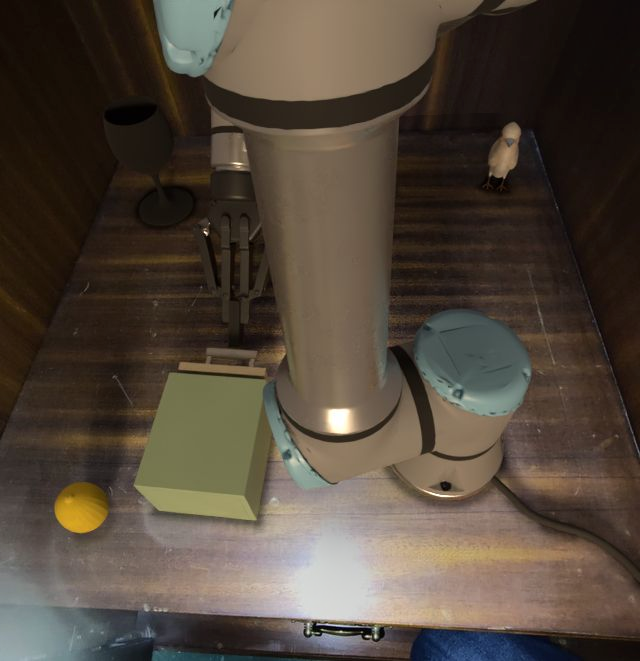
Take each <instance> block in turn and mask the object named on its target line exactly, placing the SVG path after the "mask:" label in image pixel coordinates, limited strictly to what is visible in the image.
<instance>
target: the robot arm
mask: <svg viewBox="0 0 640 661" xmlns="http://www.w3.org/2000/svg"><path fill="white" fill-rule="evenodd" d="M537 1H538V0H152V3H153V11H154V16H155V20H156V26H157V31H158V37H159V40H160V44H161V48H162V49H161V50H162V54H163V58H164V61H165V63H166V66H167V67H168V68H169V70H170V71H172V72H174V73H176V74H179V75H182V74H183V75H185V74H186V75H187V76H189V77H192V78H197V77H200V79H201V83H202V87H203V92H204V96H205V99H206V101H207V104H208V106H209V107H210V127H211V128H210V159H209V160H210V161H209V162H210V164H209V165H210V167H211V169H214V171H212V172H211V174H210V176H209V203H210V204H209V208H208V210H207V211H206V216H205V218H203V219H201V220H199V221H198V222H197V223H196V222H195V223H194V222H193V223H191V224H190V226H189V229H190V230H189V231H190V232H191V234H192V235H193V237H194V238H195V240H196V242H197V247H198V250H199V255H200V260H201V263H202V267H203V273H204V277H205V281H206V286H207V290H208V293H209V294H211V295H214V296H217V297H219V298H220V299H221V320H222V322H223V323H228V334H227V336H228V339H227V341H228V342H227V343H228V344H227V347H228V348H231V349H240V348H241V347H242V346H243V345H245V344H244V342H245V324H249V323H250V322H251V319H252V301H253V299H255V298H260V297H261V296H264V294H265V293H266V290H267V286H268V282H269V278H271V281H272V288H273V292H274V298H275V303H276V308H277V313H278V320H279V324H280V329H281V334H282V338H283V344H284V349H285V355H284V356H283V358H282V359H281V361H280V363H279V365H278V368H277V371H276V377H274V378H273V379H272V380H271V381H270V380H269V382H268V383H267V384H265V386H264V388H263V402H264V406H265V410H266V414H267V417H268V421H269V424H270V427H271V430H272V436H273V439H274V443H275V444H276V446H277V448H278V450H279V452H280V456H281V459H282V462H283V464H284V467H285V469H286V471H287V473H288V474H289V476H290V478H291V480H292V481H293V483H294V484H295V485H296V486H297V487H299V488H301V489H302V490H307V491H309V490H310V491H311V490H315V489H320V488H324V487H333V486H336V485H338V484H339V483H340V482H341V483H342V482H343V481H346V480H349V479H353V478H356V477H359V476H362V475H365V474H368V473H372V472H375V471H377V470H380V469H384V468H387V467H390V468H391V470H392V471H393V472H394V474H395V475H396V477H397V478H398V479H399V480H400V481H401V482H402V483H404V484H405V485H406V486H407V487H408V488H410V490H412V491H414V492H416V493H417V494H419V495H422V496H424V497H427V498H430V499H434V500H439V501H448V502H449V501H458V500H459V501H460V500H464V499H468V498H471V497H472V496H475V495H477V494H479V493H480V492H481V491H483V490H484V489H486V487H488V485H489V484H490V483H491V484H492V485H493V486H494V487H495V489H497V490H498V491H499V492H500V493H501V494H502V495H503V496H505V498H507V499H508V500H509V501H510V502H511V503H512V504H513V505H514V506H515V507H516V509H517V510H518V511H520V513H522V514H523V515H525V517H527V518H529V519H531V520H533V521H534V522H537V523H539V524H541V525H543V526H546V527H548V528H551V529H554V530H558V531H561V532H565V533H568V534H572V535H575V536H577V537H581V538H583V539H586V540H588V541H590V542H592V543H594V544H596V545H597V546H598V547H600V548H601V549H603V550H604V551H605V552H607V553H608V554H609V555H611V556H612V557H613V558H615V559H616V560H617V561H618V562H619V563H620V564H621V565H622V566H623V567H625V569H626V570H627V571H628V572H629V573H630V574H631V575H632V576H633V578H634V579H635V580H637V582H638V583H639V584H640V568H639V567H638V566H637V565H636V564H635V563H634V562H633V561H632V560H631V559H630V558H629V557H628V556H627V555H626V554H625V553H624V552H622V551H621V550H620V549H619V548H618V547H616V546H615V545H614V544H612V543H611V542H610V541H608V540H606V539H605V538H603V537H602V536H600V535H599V534H596V533H594V532H593V531H590V530H588V529H586V528H583V527H580V526H577V525H574V524H571V523H567V522H563V521H560V520H556V519H553V518H550V517H547V516H546V515H543V514H540V513H538V512H537V511H535V510H533V509H532V508H530V507H529V506H528V505H526V503H524V502H523V501H522V499H521V498H519V496H517V494H516V493H514V491H513V490H512V489H510V488H509V487H508V486H507V485H506V484H505V483H503V481H502V480H501V479H500V478H498V477H497V476H496V475H497V474H498V472H499V470H500V469H501V468H500V467H501V465H502V464H503V463H502V462H503V459H504V453H505V444H504V443H505V441H504V434H503V433H504V430H505V429H506V427H507V426H508V424H509V422H510V420H511V419H512V417H513V416H514V414H515V412H516V411H517V409H519V407H520V406H521V405H522V404H523V403H524V399H525V398H526V394H527V391H528V388H529V385H530V382H531V378H532V362H531V357H530V354H529V352H528V350H527V347H526V345H525V344H524V342H523V340H522V339H521V338H520V337H519V336H518V334H517V333H516V332H515V331H514V330H513V329H512V328H511V327H510V326H508V325H507V324H505V322H503V321H501V320H499V319H498V318H492V317H490V316H488V315H487V314H486V313H484V312H482V311H479V310H474V309H468V308H451V309H446V310H442V311H439V312H437V313H435V314H433V315H432V316H430V317H428V318H427V319H426V320H425V321H424V322H423V323H422V325H420V328H419V329H418V330H417V331H416V332H415V335H414V337H413V339H412V340H409V341H406V342H402V343H399V344H396V345H392V346H388V338H389V318H390V303H391V302H390V300H391V299H390V298H391V281H392V263H393V262H392V261H393V242H394V224H395V222H394V221H395V207H396V206H395V205H396V204H395V203H396V187H397V186H396V184H397V167H398V149H399V148H398V147H399V130H400V129H399V128H400V117H402V115H403V114H405V113H406V112H407V111H409V110H410V109H411V108H413V107H414V106H415V105H416V104H417V103H418V102H420V101H421V99H422V98H424V96H425V95H426V93H427V92H428V90H429V88H430V85H431V82H432V80H433V73H434V72H433V71H434V62H435V50H436V43H437V40H438V39H439V38H441V37H443V36H444V35H446V34H448V33H450V32H452V31H453V30H454V29H456V28H458V27H460V26H461V25H463V24H465V23H466V22H468V21H470V20H471V19H472V18H474V17H476V16H478V15H483V16H490V17H491V16H503V15H508V14H511V13H514V12H517V11H519V10H521V9H524V8H526V7H527V6H530V5H531V4H533V3H535V2H537ZM211 228H212V229H213V231H214V232H215V233H216V235H217V237H218V238H219V239H220V249H221V269H220V270H221V273H220V272H219V268H218V264H217V263H218V262H217V259H216V254H215V249H214V246H213V241H212V238H211V236H210V235H211V234H212V229H211ZM261 234H262V237H263V242H264V247H263V251H262V255H261V259H260V263H259V266H258V270H257V274H256V278H255V281H254V251H255V242H256V240H257V239H258V238H259V237H260V236H261ZM237 243H239V251H240V252H239V296H238V298H235V297H236V295H237V294H236V293H235V289H236V288H235V287H236V285H235V284H236V282H235V281H236V280H235V279H236V249H237ZM220 274H221V275H220ZM253 283H254V284H253Z"/></svg>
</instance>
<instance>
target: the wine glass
mask: <svg viewBox="0 0 640 661" xmlns="http://www.w3.org/2000/svg"><path fill="white" fill-rule="evenodd" d="M102 118H103V120H102V121H103V127H104V133H105V138H106V140H107V144H108V145H109V148H110V150H111V152H112V153H113V155H114V157H115V159H116V160H118V161H119V163H120V164H122V165H123V166H124V167H125V168H127V169H128V170H130V171H132V172H134V173H137V174H140V175H145V176H150V177H151V179H152V180H153V183H154V185H155V188H156V191H153V192H151V193H150V194H148V195H146V197H145V198H143V200H142V201H141V202H140V204H139V207H138V214H139V217H140V218H141V220H142V221H143V222H144V223H146V224H148V225H151V226H156V227H167V226H172V225H174V224H178V223H179V222H181V221H183V220H184V219H186V218H187V217H188V216H189V215H190V214H191V213H192V211H193V210H194V204H195V203H194V202H195V201H194V198H193V196H192V195H191V193H189V192H188V191H187V190H184V189H183V188H182V189H181V188H177V187H167V188H163V186H162V183H161V180H160V175H159V173H160V172H161V171H163V169H165V168H166V166H167V165H168V164H169V162H170V161H171V159H172V156H173V153H174V147H175V145H174V144H175V140H174V134H173V129H172V126H171V124H170V122H169V119H168V117H167V115H166V113H165V112H164V110H163V109H162V107H161V106H160V104H159V103H158V101H157V100H156V99H155V98H153V97H151V96H149V95H144V94H131V95H126V96H123V97H119V98H116V100H113V101H112V102H110V103H109V104H108V105H107V106H106V107H105V108H104V110H103V113H102Z"/></svg>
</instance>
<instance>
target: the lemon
mask: <svg viewBox="0 0 640 661" xmlns="http://www.w3.org/2000/svg"><path fill="white" fill-rule="evenodd" d="M53 509H54V515H55V518H56V519H57V521H58V523H59V524H60V525H61V526H62V527H63V528H64V529H66V530H68V531H70V532H71V533H76V534H77V533H78V534H84V533H89V532H92V531H94V530H96V529H98V528H99V527H100V526H101V525H102V524H103V523H104V521H105V520H106V519H107V517H108V514H109V510H110V501H109V499H108V496H107V494H106V493H105V492H104V490H103V489H102V488H101V487H99V486H97V485H96V484H94V483H91V482H86V481H77V482H74V483H71V484H69V485H67V486H66V487H65V488H63V489H62V490H61V491H60V492H59V494H58V495H57V497H56V499H55V501H54V508H53Z"/></svg>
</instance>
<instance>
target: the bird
mask: <svg viewBox="0 0 640 661" xmlns="http://www.w3.org/2000/svg"><path fill="white" fill-rule="evenodd" d="M521 135H522V129H521V127H520V126H519V125H518V123H516V122H515V121H512V122H509V123H507V124H506V125H505V126H504V127H503V128H502V130H501V134H500V137H498V139H497V140H496V141H495V142H494V143H493V145H492V146H491V148H490V151H489V152H488V153H489V154H488V156H487V157H488V158H487V165H488V166H489V171H488V180H487V182H485V183H484V184H483V185H482V187H481V188H484V187H485V186H486V190H488V189H489V187H491V189H492V190H493V189H494V187H493V185H491V182H490V180H491V177H492V176H494V177H495V178H497V179H500V178H502V181H501V184H499V185H498V186H497V187H496V189H495V190H498V189H500V192H502V190H503V189H504V190H505V191H506V192H507V191H508V190H507V188H506V187H505V186H504V182H505V179H506V178H507V176H508V173H509V172H510V170H513V169H515V168H516V166H517V164H518V161H519V160H518V159H519V142H520V140H521Z"/></svg>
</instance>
